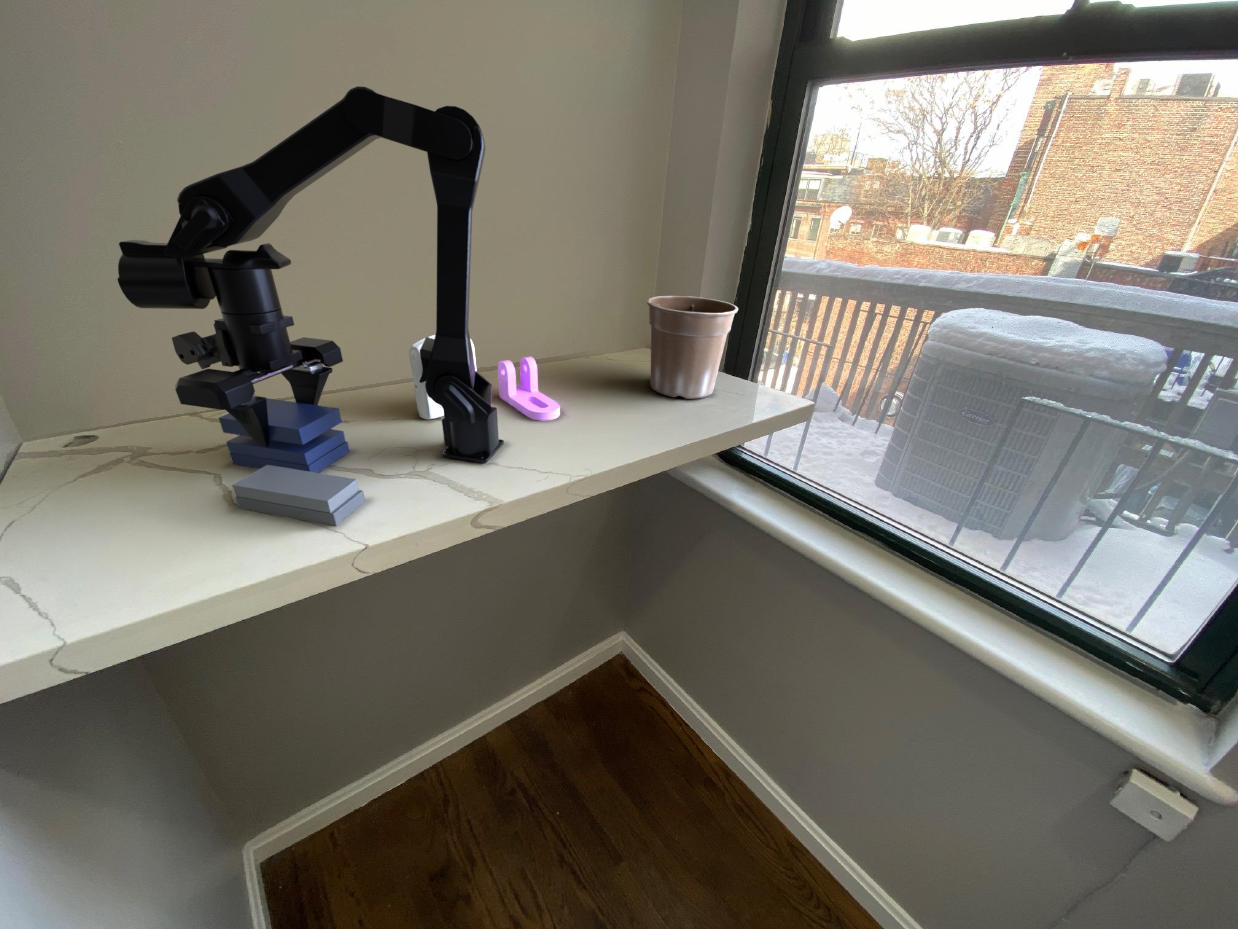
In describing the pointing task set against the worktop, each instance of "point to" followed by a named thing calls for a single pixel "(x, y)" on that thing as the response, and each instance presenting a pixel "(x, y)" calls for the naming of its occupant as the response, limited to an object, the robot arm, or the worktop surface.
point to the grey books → (299, 494)
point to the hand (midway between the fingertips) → (287, 434)
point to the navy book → (290, 421)
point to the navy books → (290, 452)
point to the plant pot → (687, 343)
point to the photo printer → (424, 402)
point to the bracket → (525, 390)
